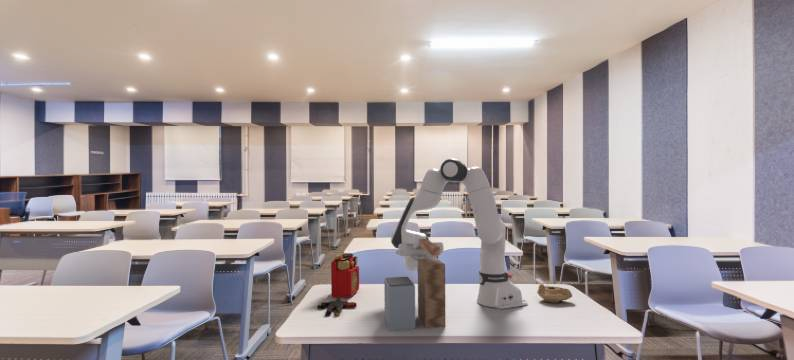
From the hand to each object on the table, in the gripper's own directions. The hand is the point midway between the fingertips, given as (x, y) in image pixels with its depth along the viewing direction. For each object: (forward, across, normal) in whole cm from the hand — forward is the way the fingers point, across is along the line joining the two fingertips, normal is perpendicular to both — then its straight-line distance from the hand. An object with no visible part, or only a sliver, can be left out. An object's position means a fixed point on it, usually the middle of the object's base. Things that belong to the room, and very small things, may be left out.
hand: (424, 242), depth 160 cm
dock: (-6, -13, +31) cm, 34 cm away
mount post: (-6, 0, +31) cm, 32 cm away
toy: (-25, -38, +21) cm, 50 cm away
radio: (-44, -32, +10) cm, 55 cm away
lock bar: (+5, 0, +5) cm, 7 cm away
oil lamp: (-17, +63, +25) cm, 70 cm away
